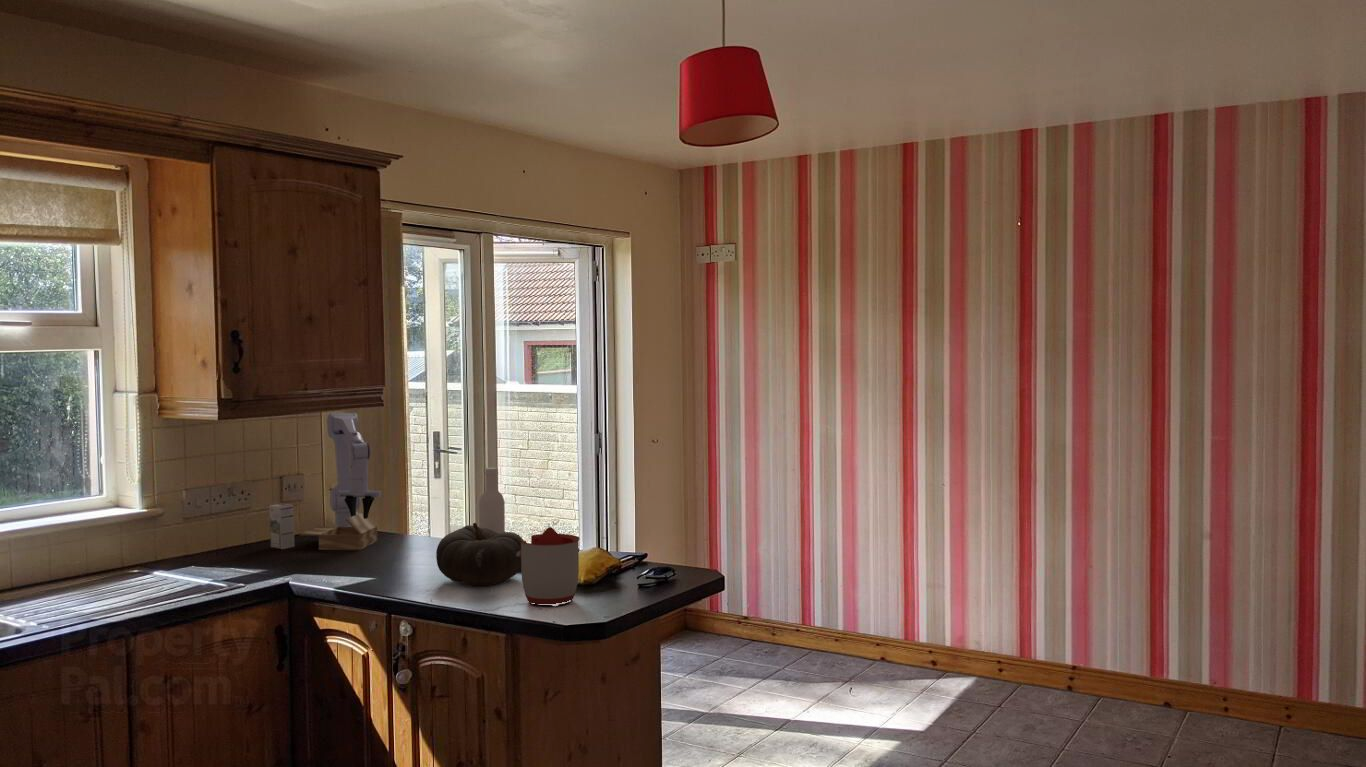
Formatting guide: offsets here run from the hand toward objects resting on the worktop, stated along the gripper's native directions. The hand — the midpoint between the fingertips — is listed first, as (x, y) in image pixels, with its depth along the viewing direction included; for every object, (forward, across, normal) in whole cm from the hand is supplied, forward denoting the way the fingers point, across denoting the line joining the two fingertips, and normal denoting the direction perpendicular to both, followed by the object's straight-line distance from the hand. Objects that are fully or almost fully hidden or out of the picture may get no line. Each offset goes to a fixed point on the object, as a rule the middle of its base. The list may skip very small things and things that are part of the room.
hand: (359, 518), depth 354 cm
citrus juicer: (+10, +80, -73) cm, 109 cm away
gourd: (+10, +56, -49) cm, 75 cm away
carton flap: (+2, 0, 0) cm, 2 cm away
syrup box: (+10, -25, -5) cm, 27 cm away
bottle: (+10, +53, -27) cm, 60 cm away
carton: (+9, -8, 0) cm, 12 cm away
